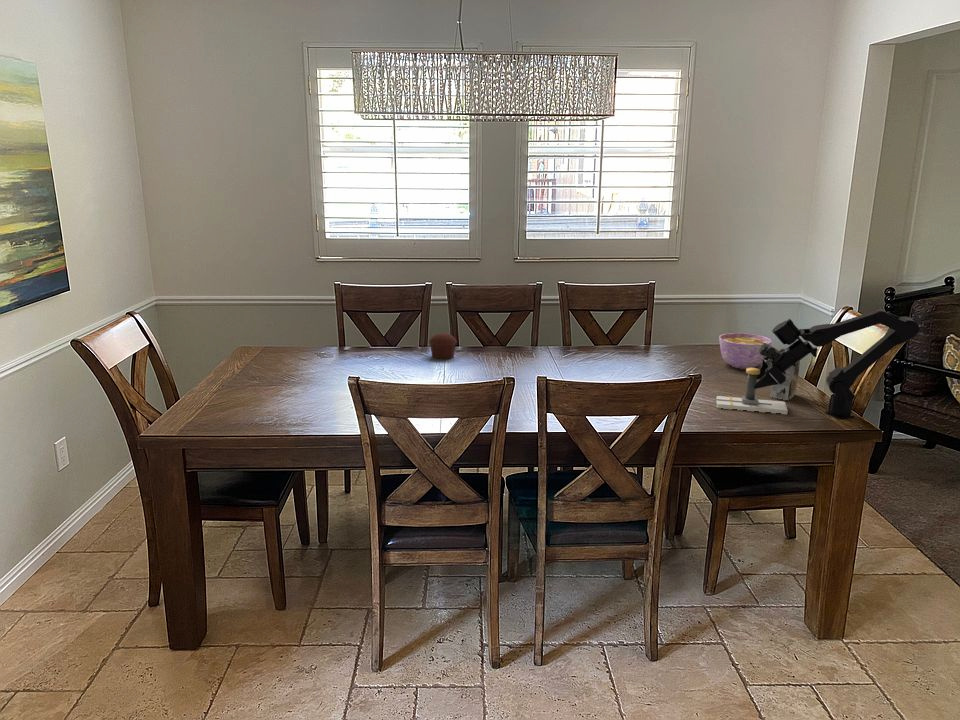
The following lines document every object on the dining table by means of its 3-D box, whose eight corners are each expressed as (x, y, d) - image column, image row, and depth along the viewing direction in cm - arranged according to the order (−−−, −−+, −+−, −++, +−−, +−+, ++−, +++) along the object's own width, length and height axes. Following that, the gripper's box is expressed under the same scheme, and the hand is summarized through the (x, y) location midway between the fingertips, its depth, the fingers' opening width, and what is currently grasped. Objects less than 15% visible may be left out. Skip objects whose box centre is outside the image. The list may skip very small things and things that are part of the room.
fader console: (784, 405, 249) (784, 401, 248) (787, 414, 240) (787, 409, 240) (714, 399, 254) (715, 395, 254) (715, 408, 246) (715, 403, 246)
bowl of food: (708, 360, 304) (711, 333, 301) (755, 359, 306) (758, 332, 303) (728, 373, 285) (730, 345, 282) (777, 373, 287) (781, 344, 284)
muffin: (424, 358, 304) (424, 335, 301) (435, 352, 314) (435, 329, 311) (451, 361, 300) (450, 337, 297) (461, 355, 310) (461, 332, 307)
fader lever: (757, 400, 248) (760, 368, 245) (758, 404, 244) (761, 371, 241) (741, 399, 250) (744, 367, 247) (742, 403, 245) (745, 370, 242)
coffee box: (777, 391, 264) (783, 348, 260) (796, 394, 260) (802, 351, 256) (769, 397, 258) (774, 353, 253) (788, 401, 254) (793, 356, 249)
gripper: (773, 330, 248) (735, 358, 254) (779, 343, 231) (738, 373, 236) (795, 354, 248) (757, 382, 254) (802, 369, 231) (761, 399, 236)
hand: (753, 383), depth 245 cm, fingers open, 9 cm apart
